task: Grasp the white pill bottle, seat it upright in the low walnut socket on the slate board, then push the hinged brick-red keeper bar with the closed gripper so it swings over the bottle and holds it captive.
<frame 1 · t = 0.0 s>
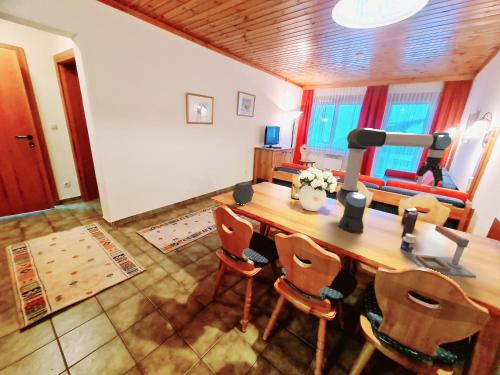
hand: (425, 187, 140), 28 cm above the table, fingers open, 13 cm apart
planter: (242, 203, 173), on the table
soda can: (406, 225, 148), on the table
latch board: (438, 265, 103), on the table
supplement box: (406, 236, 131), on the table
pill bottle: (405, 251, 114), on the table
keeper: (450, 235, 105), point 14 cm above the table, hinge at 0.0°
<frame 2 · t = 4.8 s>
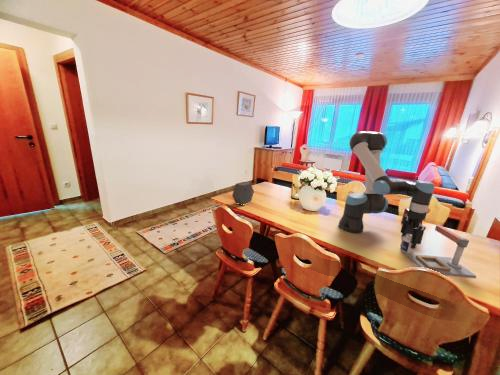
hand: (406, 249, 114), 1 cm above the table, fingers closed on pill bottle, 5 cm apart
pill bottle: (405, 251, 114), on the table, touching gripper
everything else where it was.
when the fingers open (3 cm above the table, at t = 9.6 s): pill bottle drops 1 cm, resting on latch board.
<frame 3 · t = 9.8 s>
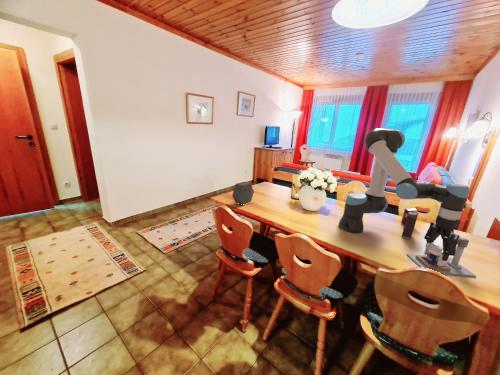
hand: (433, 259, 101), 3 cm above the table, fingers open, 8 cm apart
pill bottle: (431, 264, 102), point 1 cm above the table, touching latch board
everything else where it was.
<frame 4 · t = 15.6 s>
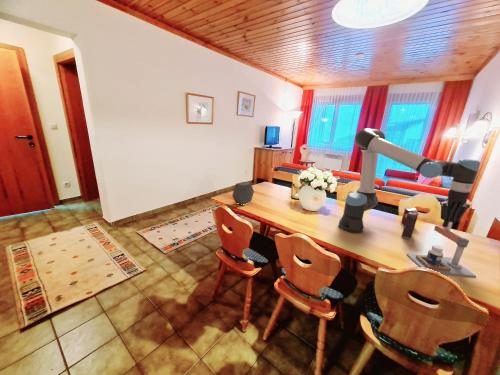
hand: (445, 232, 110), 13 cm above the table, fingers closed
keeper: (450, 235, 105), point 14 cm above the table, hinge at 1.7°, touching gripper
everything else where it was.
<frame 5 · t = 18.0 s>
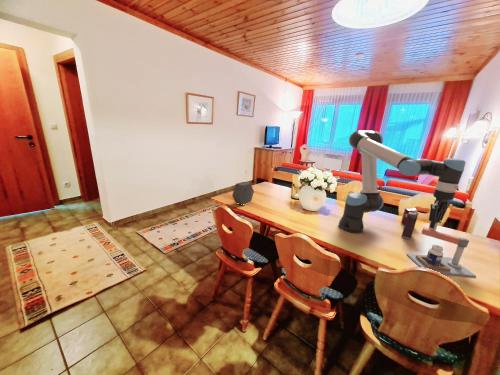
hand: (430, 233, 108), 13 cm above the table, fingers closed
keeper: (443, 236, 103), point 14 cm above the table, hinge at 50.6°, touching gripper
everything else where it was.
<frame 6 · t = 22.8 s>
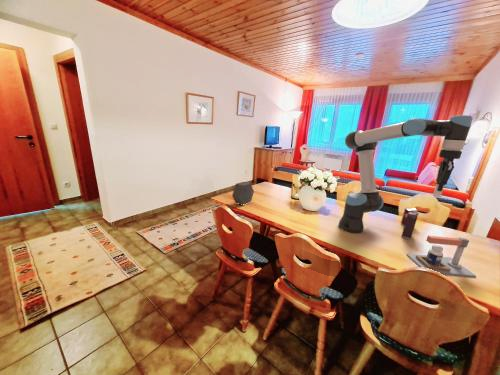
hand: (436, 196, 104), 32 cm above the table, fingers closed
keeper: (447, 241, 99), point 14 cm above the table, hinge at 89.7°
everything else where it was.
at the end: pill bottle inside the target area (0.0 cm from its centre), point 0.6 cm above the table; pill bottle tilted 0°; keeper at +90° (first picture: +0°) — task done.
